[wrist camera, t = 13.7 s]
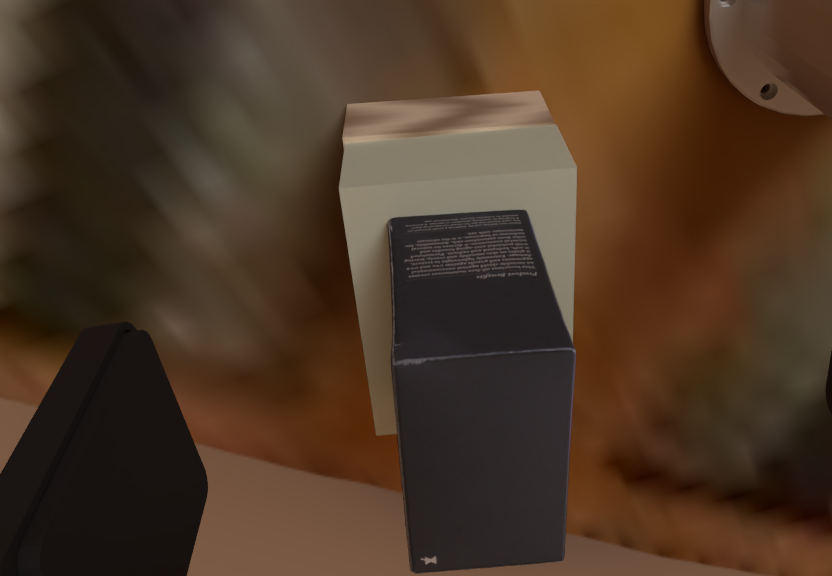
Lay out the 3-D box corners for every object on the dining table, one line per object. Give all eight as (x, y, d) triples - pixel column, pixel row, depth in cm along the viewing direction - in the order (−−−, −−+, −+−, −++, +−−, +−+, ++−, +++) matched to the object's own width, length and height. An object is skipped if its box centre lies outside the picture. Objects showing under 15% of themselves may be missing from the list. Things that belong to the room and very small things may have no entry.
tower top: (556, 124, 37) (577, 167, 33) (554, 360, 45) (570, 420, 41) (345, 143, 38) (338, 188, 33) (377, 374, 45) (376, 435, 41)
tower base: (538, 88, 41) (554, 122, 37) (534, 310, 49) (547, 359, 45) (347, 101, 42) (342, 137, 37) (372, 320, 49) (370, 371, 45)
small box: (531, 395, 40) (572, 570, 31) (401, 403, 40) (404, 580, 31) (535, 204, 34) (586, 352, 25) (384, 215, 34) (381, 365, 25)
